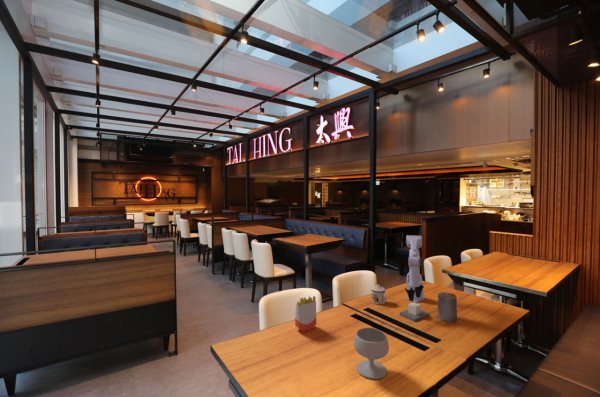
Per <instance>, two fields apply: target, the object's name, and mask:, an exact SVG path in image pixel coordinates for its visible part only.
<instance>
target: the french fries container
mask: <svg viewBox="0 0 600 397" xmlns="http://www.w3.org/2000/svg"><path fill="white" fill-rule="evenodd" d="M294 316H295V318H294V322H295V326H296V328H298V329H299V330H300V331H301V332H303V331H305V332H307V331H306V330H309V331H311V330H310V329H312V330H313V329H314V328H315V327H316V325H317V300H316V296H315V295H313V296H312V297H311V296H310V295H309V296H308V298H306V297H301V298H299V301H297V302H296V305H295V314H294Z"/></svg>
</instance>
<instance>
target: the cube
mask: <svg viewBox="0 0 600 397" xmlns="http://www.w3.org/2000/svg"><path fill="white" fill-rule="evenodd" d="M407 310H408V313H411V314H414V315H418V314H420V313H421V310H422V309H421V304H419V303H418V302H413V301H411V302H410V303H408V304H407Z"/></svg>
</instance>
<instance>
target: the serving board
mask: <svg viewBox="0 0 600 397" xmlns="http://www.w3.org/2000/svg"><path fill="white" fill-rule="evenodd" d="M399 316H400V317H403V318H405V319H408V320H410V321H412V322H417V321H420V320H422V319H424V318H426V317H429V316H430V312H428V311H425V310H424V309H423V310H422V309H421V313H420V314H418V315H414V314H411V313H408V309H406V310H403V311H401V312H399Z"/></svg>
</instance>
